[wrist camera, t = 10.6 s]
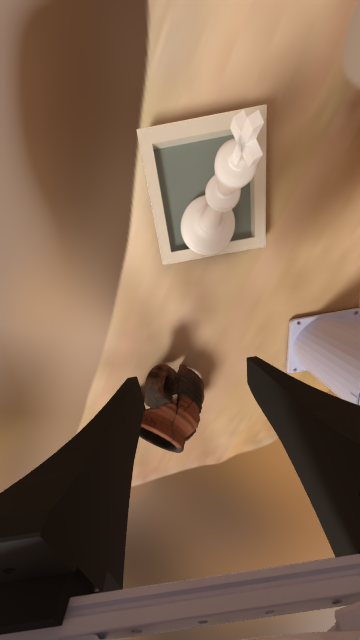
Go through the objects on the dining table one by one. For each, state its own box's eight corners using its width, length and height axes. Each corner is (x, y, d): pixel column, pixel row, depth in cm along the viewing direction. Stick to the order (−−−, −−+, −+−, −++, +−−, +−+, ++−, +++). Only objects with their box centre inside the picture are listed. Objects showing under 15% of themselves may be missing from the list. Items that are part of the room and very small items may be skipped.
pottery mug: (213, 399, 26) (198, 465, 20) (159, 387, 30) (135, 440, 24) (199, 344, 19) (171, 421, 13) (132, 338, 23) (88, 395, 17)
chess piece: (218, 187, 15) (291, -5, 5) (242, 237, 16) (347, 150, 6) (170, 216, 16) (158, 87, 6) (197, 265, 16) (226, 223, 6)
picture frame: (254, 123, 15) (266, 104, 13) (255, 247, 18) (265, 246, 16) (140, 145, 15) (136, 129, 13) (163, 264, 18) (162, 265, 17)
